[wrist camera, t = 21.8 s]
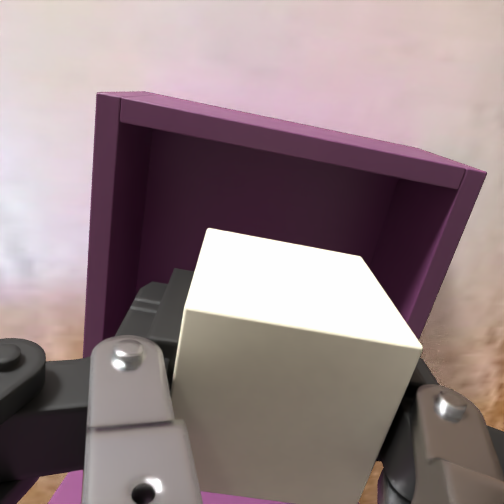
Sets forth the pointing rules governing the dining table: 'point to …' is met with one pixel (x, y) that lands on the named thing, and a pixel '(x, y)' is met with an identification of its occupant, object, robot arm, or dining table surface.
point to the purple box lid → (70, 491)
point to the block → (288, 370)
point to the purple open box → (261, 200)
